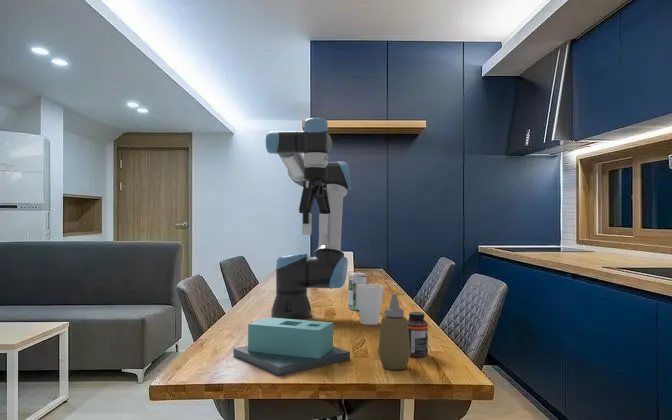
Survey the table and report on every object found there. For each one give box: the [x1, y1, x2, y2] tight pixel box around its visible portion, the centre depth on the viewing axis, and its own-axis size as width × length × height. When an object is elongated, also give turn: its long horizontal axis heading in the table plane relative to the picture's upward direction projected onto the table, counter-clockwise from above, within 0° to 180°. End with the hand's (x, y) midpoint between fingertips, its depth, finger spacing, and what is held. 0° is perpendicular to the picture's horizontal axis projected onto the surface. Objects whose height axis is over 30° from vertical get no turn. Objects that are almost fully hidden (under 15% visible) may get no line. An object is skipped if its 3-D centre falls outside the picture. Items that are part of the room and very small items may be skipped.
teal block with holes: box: [247, 316, 334, 359], centre depth 132 cm, size 20×10×7 cm, turn 70°
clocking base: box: [232, 345, 351, 377], centre depth 132 cm, size 22×22×8 cm
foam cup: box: [356, 283, 384, 326], centre depth 177 cm, size 10×9×13 cm
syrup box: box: [347, 272, 367, 311], centre depth 204 cm, size 6×6×14 cm
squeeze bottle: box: [377, 293, 411, 371], centre depth 124 cm, size 8×8×18 cm
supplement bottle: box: [407, 311, 429, 358], centre depth 136 cm, size 6×6×11 cm
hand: (315, 234), depth 159 cm, fingers open, 13 cm apart
